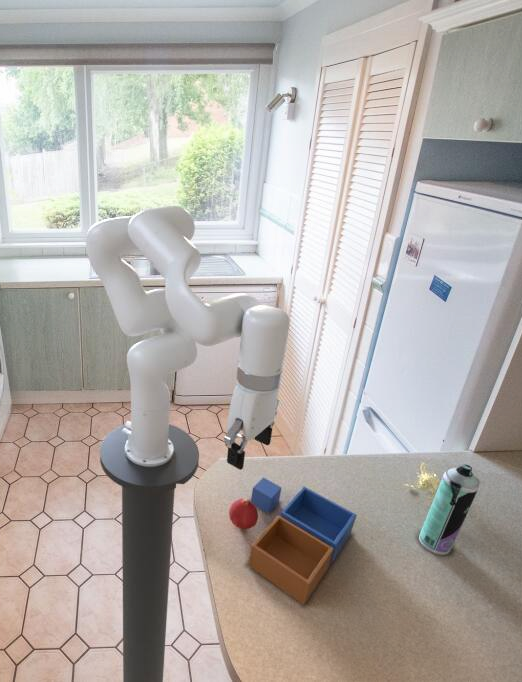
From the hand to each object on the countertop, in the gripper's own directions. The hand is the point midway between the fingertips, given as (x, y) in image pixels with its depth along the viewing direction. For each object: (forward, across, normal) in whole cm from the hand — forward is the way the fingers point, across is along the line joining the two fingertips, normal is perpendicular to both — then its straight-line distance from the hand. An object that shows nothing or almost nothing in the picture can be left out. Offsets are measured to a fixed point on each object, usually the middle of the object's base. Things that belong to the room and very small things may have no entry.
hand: (248, 453), depth 87 cm
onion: (+20, 0, 0) cm, 20 cm away
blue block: (+19, -10, 0) cm, 22 cm away
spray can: (+20, -24, +30) cm, 44 cm away
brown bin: (+20, +2, +12) cm, 23 cm away
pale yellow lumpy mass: (+20, -37, +26) cm, 50 cm away
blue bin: (+20, -10, +12) cm, 25 cm away
